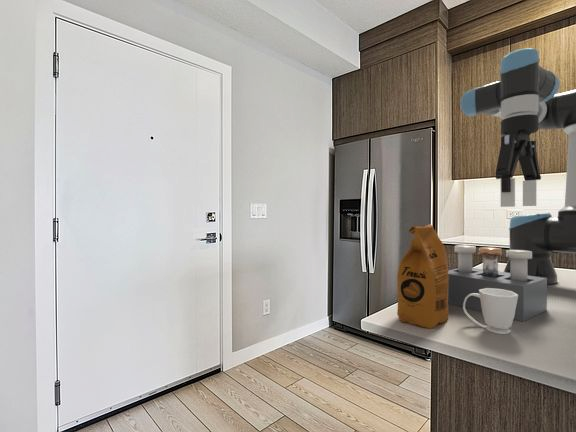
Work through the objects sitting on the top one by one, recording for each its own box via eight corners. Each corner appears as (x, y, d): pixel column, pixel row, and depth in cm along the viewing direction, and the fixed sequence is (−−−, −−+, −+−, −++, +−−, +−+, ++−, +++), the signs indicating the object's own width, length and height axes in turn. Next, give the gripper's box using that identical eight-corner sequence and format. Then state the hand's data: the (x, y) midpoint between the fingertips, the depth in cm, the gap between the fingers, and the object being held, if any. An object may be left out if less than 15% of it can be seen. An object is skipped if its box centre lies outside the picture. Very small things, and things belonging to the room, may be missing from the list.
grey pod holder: (465, 293, 97) (465, 266, 97) (546, 309, 81) (546, 278, 80) (439, 301, 89) (439, 272, 89) (523, 321, 73) (523, 286, 72)
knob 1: (460, 274, 94) (460, 244, 94) (479, 277, 89) (479, 246, 89) (451, 276, 91) (451, 246, 91) (470, 279, 86) (470, 248, 86)
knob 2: (511, 282, 83) (511, 249, 83) (535, 286, 79) (535, 251, 78) (502, 285, 80) (502, 250, 80) (526, 289, 76) (527, 253, 76)
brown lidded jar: (484, 277, 88) (484, 246, 88) (505, 281, 84) (505, 248, 84) (475, 280, 85) (475, 248, 85) (496, 284, 81) (496, 250, 81)
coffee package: (389, 320, 75) (389, 225, 74) (414, 308, 83) (414, 223, 83) (433, 332, 67) (433, 227, 67) (455, 317, 76) (455, 224, 75)
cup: (517, 339, 63) (517, 298, 63) (460, 328, 69) (460, 290, 69) (518, 328, 69) (519, 290, 68) (466, 319, 75) (466, 284, 75)
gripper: (521, 127, 88) (521, 205, 89) (478, 114, 74) (478, 207, 75) (556, 120, 82) (555, 205, 82) (515, 105, 68) (515, 206, 69)
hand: (519, 206), depth 79 cm, fingers open, 12 cm apart
